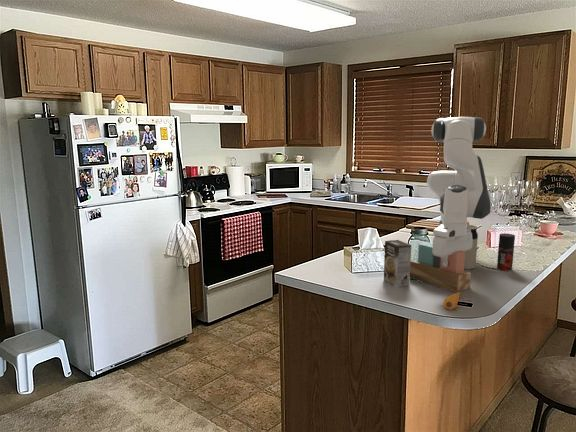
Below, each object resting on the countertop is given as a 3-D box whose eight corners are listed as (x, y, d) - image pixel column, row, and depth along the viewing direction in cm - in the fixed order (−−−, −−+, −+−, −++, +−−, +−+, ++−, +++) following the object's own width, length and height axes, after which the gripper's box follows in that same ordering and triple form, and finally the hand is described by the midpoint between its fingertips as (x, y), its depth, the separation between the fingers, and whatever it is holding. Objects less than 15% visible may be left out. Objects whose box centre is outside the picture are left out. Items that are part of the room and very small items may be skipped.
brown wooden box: (422, 273, 195) (423, 257, 194) (469, 287, 178) (471, 270, 176) (408, 277, 190) (409, 260, 189) (455, 292, 172) (456, 274, 171)
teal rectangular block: (425, 270, 192) (426, 242, 190) (440, 275, 186) (442, 246, 184) (417, 272, 189) (418, 244, 187) (432, 277, 183) (434, 248, 181)
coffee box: (382, 279, 187) (384, 240, 184) (396, 277, 190) (397, 239, 187) (396, 286, 179) (397, 246, 176) (410, 284, 181) (411, 244, 178)
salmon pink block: (446, 276, 184) (447, 247, 182) (463, 281, 178) (465, 251, 176) (438, 279, 181) (439, 249, 179) (455, 284, 175) (457, 253, 173)
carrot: (451, 313, 156) (458, 302, 154) (439, 306, 157) (445, 295, 156) (462, 300, 173) (468, 290, 172) (451, 293, 175) (457, 283, 173)
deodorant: (496, 270, 199) (499, 235, 196) (497, 266, 204) (499, 232, 201) (511, 271, 196) (515, 237, 193) (512, 268, 201) (515, 234, 199)
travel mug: (473, 270, 199) (476, 229, 195) (454, 267, 202) (457, 227, 199) (476, 265, 205) (479, 225, 202) (457, 263, 209) (460, 223, 206)
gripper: (463, 224, 184) (461, 257, 187) (430, 231, 172) (428, 267, 175) (477, 226, 179) (475, 261, 182) (444, 234, 167) (442, 271, 170)
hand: (452, 264), depth 178 cm, fingers open, 6 cm apart
